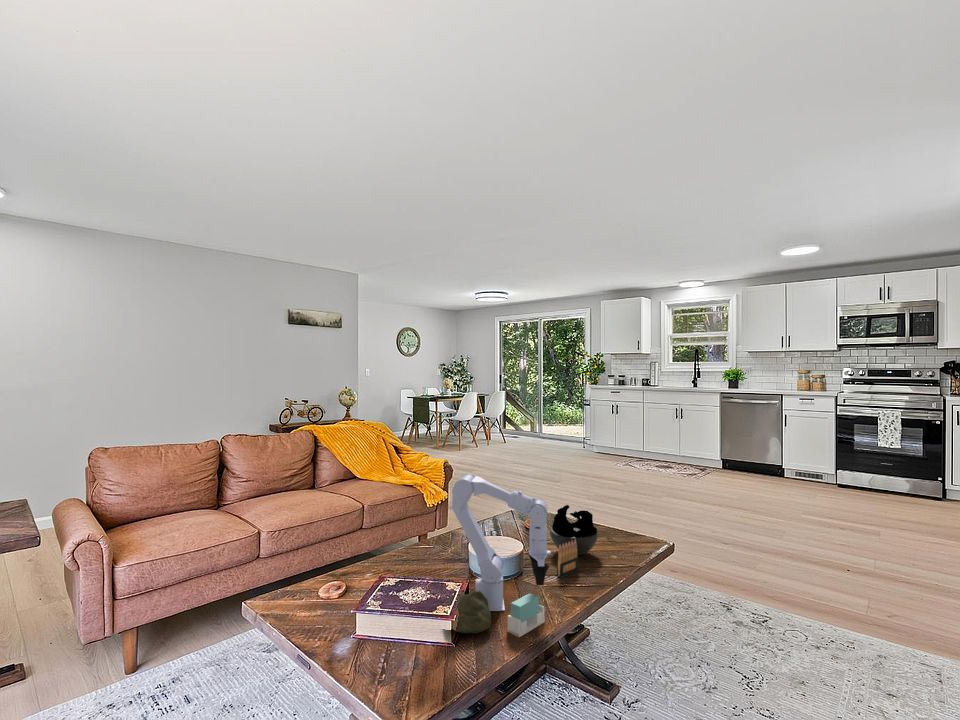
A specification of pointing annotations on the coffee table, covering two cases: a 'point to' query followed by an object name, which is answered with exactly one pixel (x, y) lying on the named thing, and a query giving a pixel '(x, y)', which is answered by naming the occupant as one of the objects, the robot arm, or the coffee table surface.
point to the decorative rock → (473, 613)
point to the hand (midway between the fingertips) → (538, 579)
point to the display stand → (525, 623)
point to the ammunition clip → (567, 559)
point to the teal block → (525, 607)
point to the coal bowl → (574, 530)
